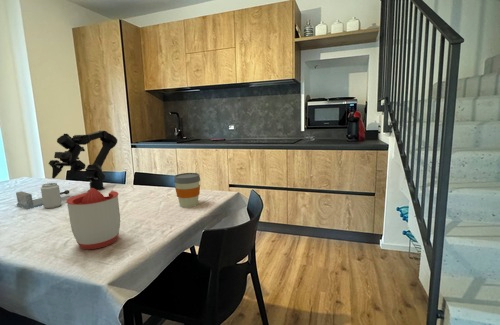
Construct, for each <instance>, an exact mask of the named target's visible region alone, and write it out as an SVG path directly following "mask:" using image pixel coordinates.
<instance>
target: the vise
mask: <svg viewBox="0 0 500 325" xmlns="http://www.w3.org/2000/svg"><path fill="white" fill-rule="evenodd" d="M69 194H70V190H68V189H65V190H64V191H62V192H61V191H60V196H61V195H69ZM15 195H16V201H17V203H16V206H17V207H20V208H22V207H23V209H25V208H26V209H25V210H30V209H29V208H31V209H35V208H38V206H39V207H41V206H42V205H43V199H42V197H40V198H36V199H33V195H32V194H31V193H28V192H25V191H22V190H20V191H17V192H15ZM43 206H44V205H43ZM34 207H35V208H34Z"/></svg>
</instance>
